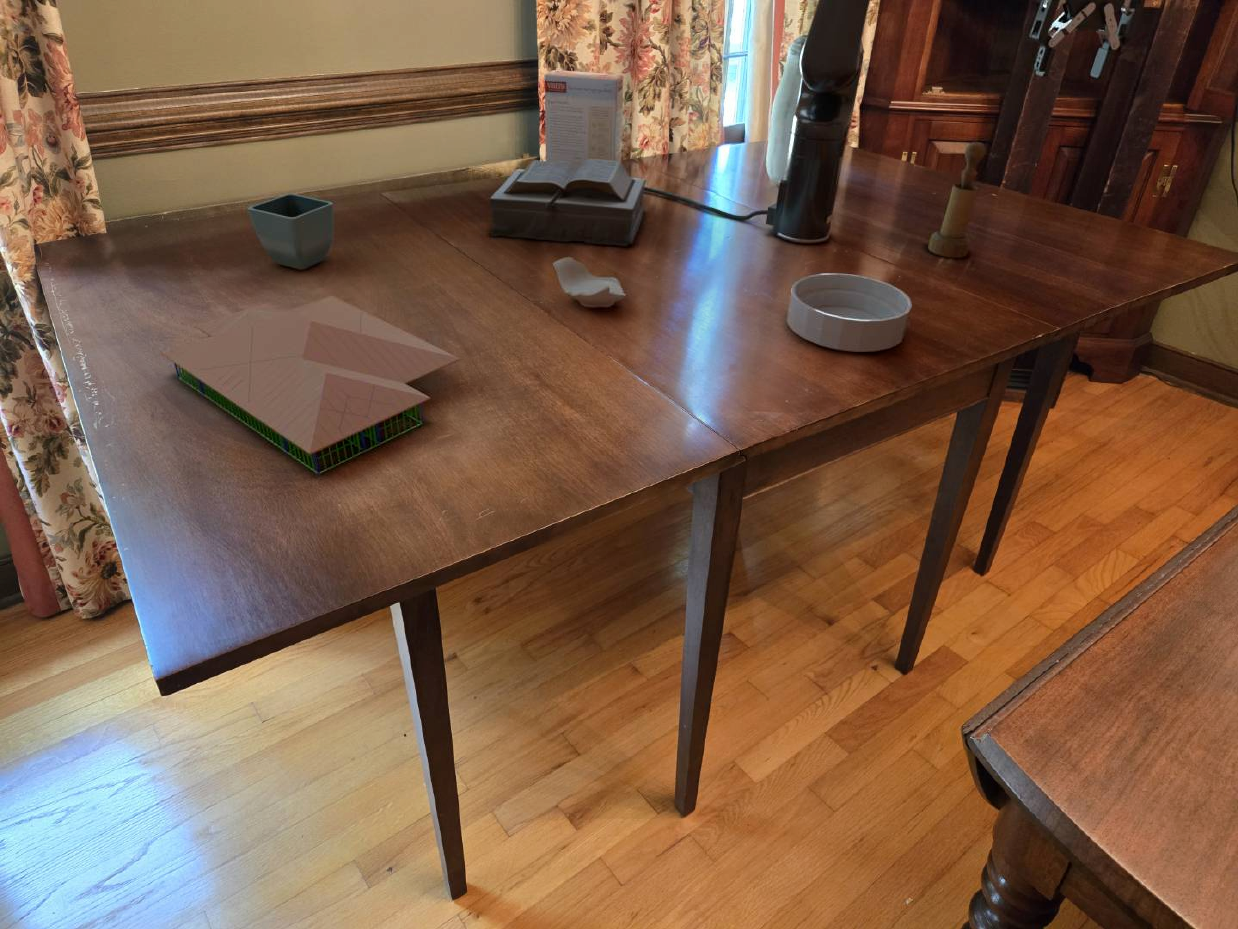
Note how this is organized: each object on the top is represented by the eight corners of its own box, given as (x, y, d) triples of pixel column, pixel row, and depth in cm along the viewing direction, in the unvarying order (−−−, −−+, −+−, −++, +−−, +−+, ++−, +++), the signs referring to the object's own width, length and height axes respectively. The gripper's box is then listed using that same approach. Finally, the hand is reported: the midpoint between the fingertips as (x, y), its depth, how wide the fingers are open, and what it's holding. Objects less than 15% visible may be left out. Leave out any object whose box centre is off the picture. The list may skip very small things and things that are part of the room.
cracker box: (620, 187, 166) (625, 73, 154) (613, 195, 161) (617, 79, 149) (553, 179, 168) (553, 67, 156) (545, 188, 163) (543, 73, 151)
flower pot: (343, 259, 129) (334, 201, 124) (303, 278, 122) (292, 218, 117) (300, 248, 132) (289, 192, 127) (258, 266, 125) (245, 207, 120)
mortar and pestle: (969, 259, 140) (1002, 149, 129) (930, 255, 140) (959, 145, 130) (964, 246, 145) (994, 139, 135) (926, 242, 146) (953, 136, 135)
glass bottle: (801, 195, 166) (827, 40, 150) (755, 186, 170) (774, 34, 154) (819, 184, 173) (845, 35, 157) (774, 175, 177) (794, 29, 161)
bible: (621, 257, 134) (623, 196, 129) (472, 233, 141) (468, 174, 135) (661, 215, 153) (665, 160, 147) (527, 195, 159) (526, 142, 153)
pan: (770, 336, 112) (775, 302, 109) (806, 296, 124) (811, 265, 121) (888, 366, 106) (896, 331, 104) (913, 321, 118) (922, 288, 115)
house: (324, 312, 113) (313, 254, 108) (488, 396, 96) (484, 333, 92) (156, 369, 98) (136, 306, 94) (315, 481, 82) (300, 410, 77)
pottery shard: (619, 322, 114) (620, 288, 111) (541, 313, 116) (540, 280, 113) (632, 292, 123) (633, 260, 120) (559, 285, 124) (559, 253, 121)
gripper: (1143, -55, 114) (1099, 72, 123) (1047, -60, 113) (1009, 69, 122) (1179, -52, 108) (1129, 82, 117) (1077, -57, 106) (1035, 79, 116)
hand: (1068, 76), depth 120 cm, fingers open, 8 cm apart
